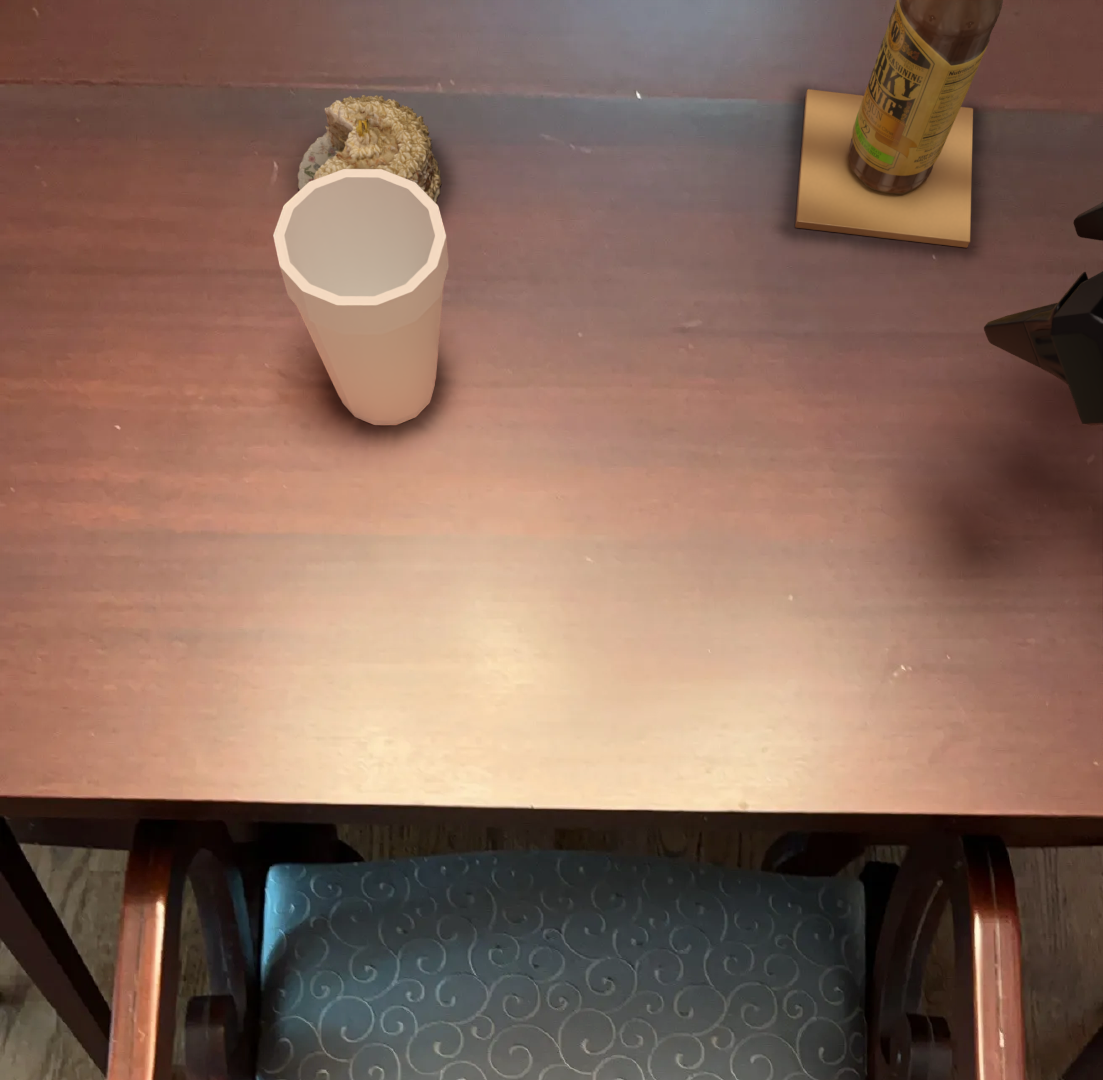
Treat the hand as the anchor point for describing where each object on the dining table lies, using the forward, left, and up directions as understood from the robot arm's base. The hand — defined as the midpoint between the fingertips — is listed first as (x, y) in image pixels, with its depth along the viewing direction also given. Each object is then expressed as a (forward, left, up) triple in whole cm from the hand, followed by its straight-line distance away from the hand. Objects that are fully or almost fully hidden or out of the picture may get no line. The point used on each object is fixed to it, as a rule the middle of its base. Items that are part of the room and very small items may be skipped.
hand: (1032, 278), depth 64 cm
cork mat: (-6, -20, -13) cm, 25 cm away
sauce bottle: (-6, -20, -13) cm, 25 cm away
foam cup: (+33, -17, -14) cm, 39 cm away
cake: (+28, -33, -14) cm, 45 cm away
